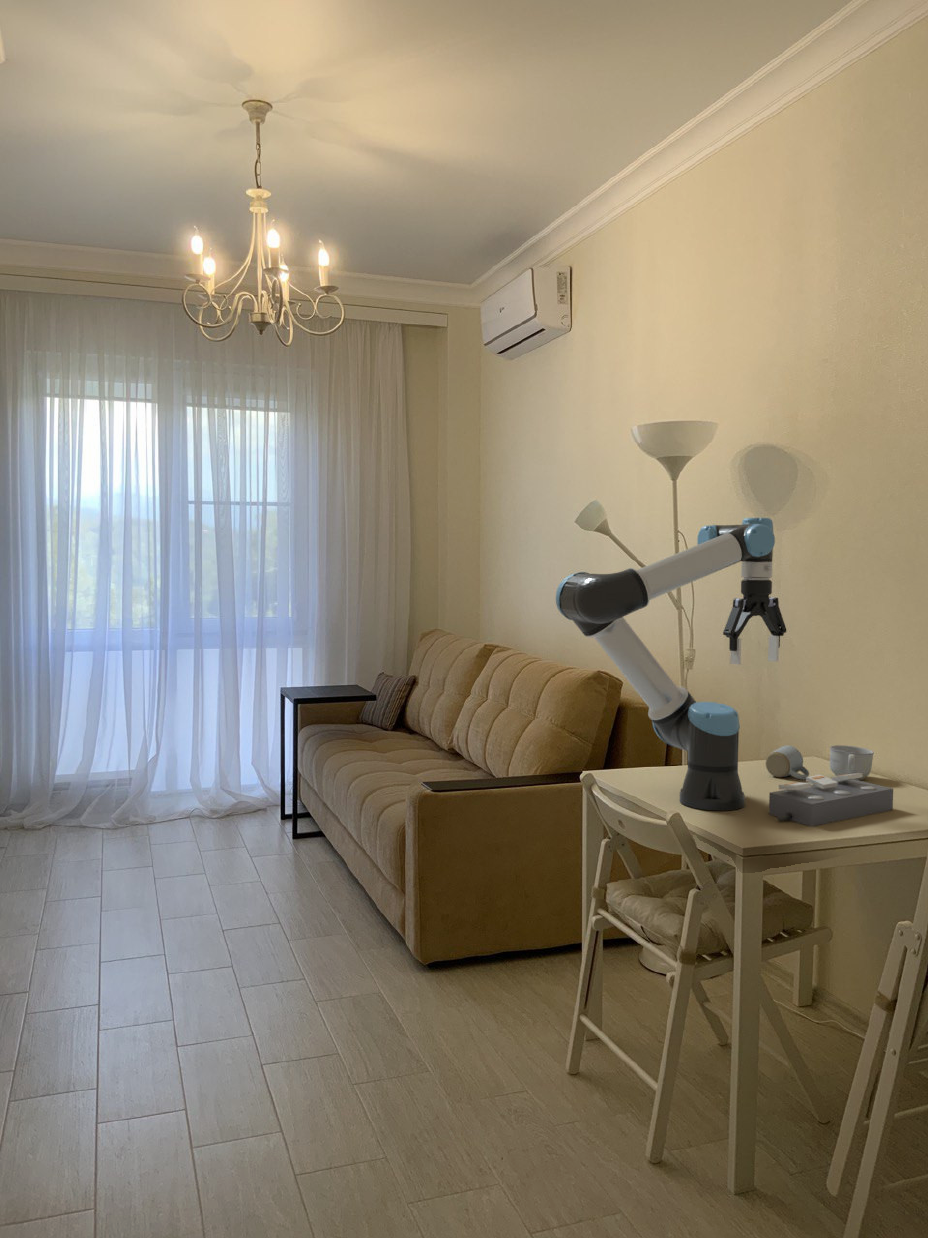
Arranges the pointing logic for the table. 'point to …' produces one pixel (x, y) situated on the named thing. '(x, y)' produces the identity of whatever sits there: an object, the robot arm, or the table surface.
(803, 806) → the power strip
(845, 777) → the rocker
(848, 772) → the teacup
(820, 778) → the rocker
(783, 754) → the ceramic mug
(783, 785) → the rocker
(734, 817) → the table surface
